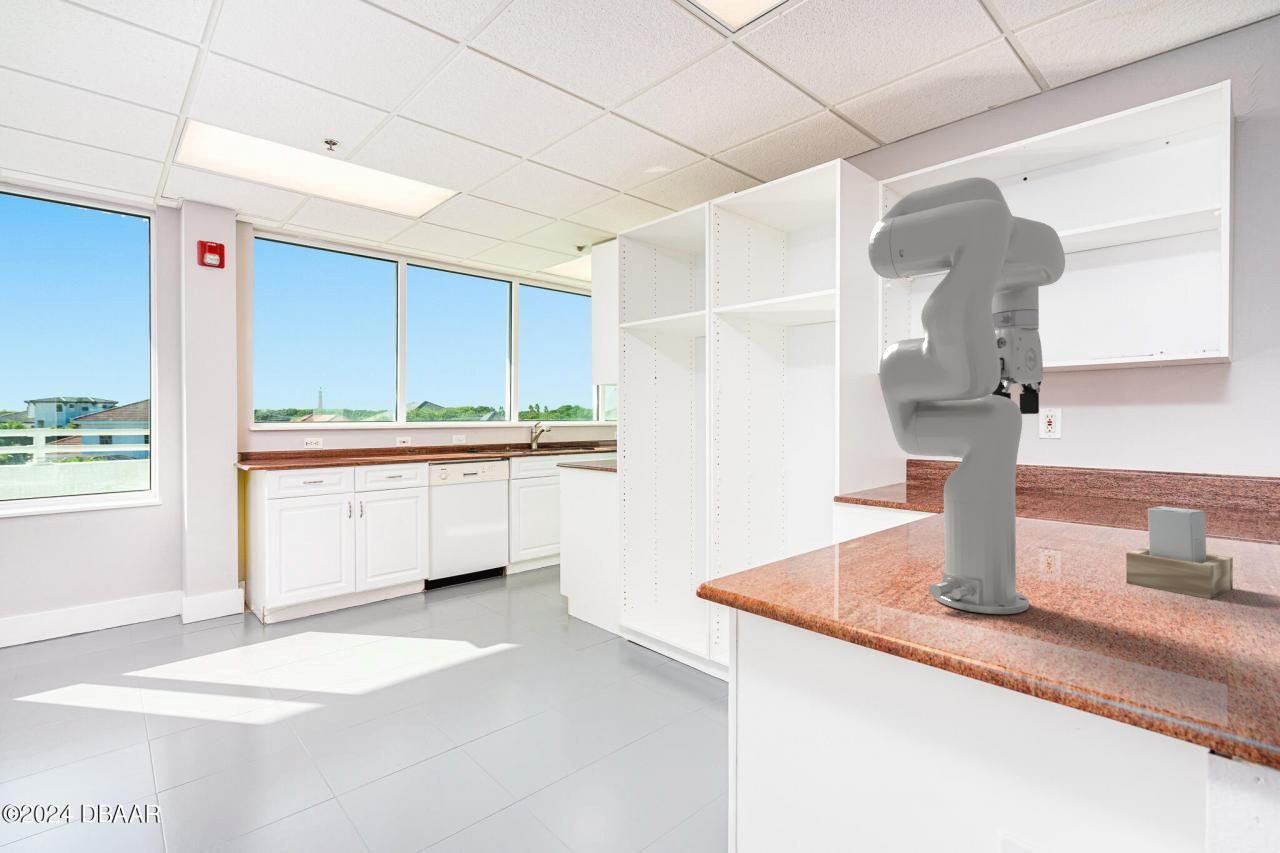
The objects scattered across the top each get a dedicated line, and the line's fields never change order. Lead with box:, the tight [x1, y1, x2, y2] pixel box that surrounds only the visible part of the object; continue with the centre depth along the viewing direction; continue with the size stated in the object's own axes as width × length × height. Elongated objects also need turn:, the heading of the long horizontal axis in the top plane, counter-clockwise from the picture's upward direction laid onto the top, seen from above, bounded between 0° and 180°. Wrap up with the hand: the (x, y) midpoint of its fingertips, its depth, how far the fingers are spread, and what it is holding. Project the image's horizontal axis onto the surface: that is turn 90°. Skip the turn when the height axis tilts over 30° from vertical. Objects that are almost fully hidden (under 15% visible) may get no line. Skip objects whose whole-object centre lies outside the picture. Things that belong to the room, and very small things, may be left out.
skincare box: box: [1147, 505, 1207, 563], centre depth 97 cm, size 6×4×12 cm
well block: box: [1125, 545, 1234, 600], centre depth 98 cm, size 10×10×5 cm
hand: (1015, 414), depth 113 cm, fingers open, 9 cm apart
